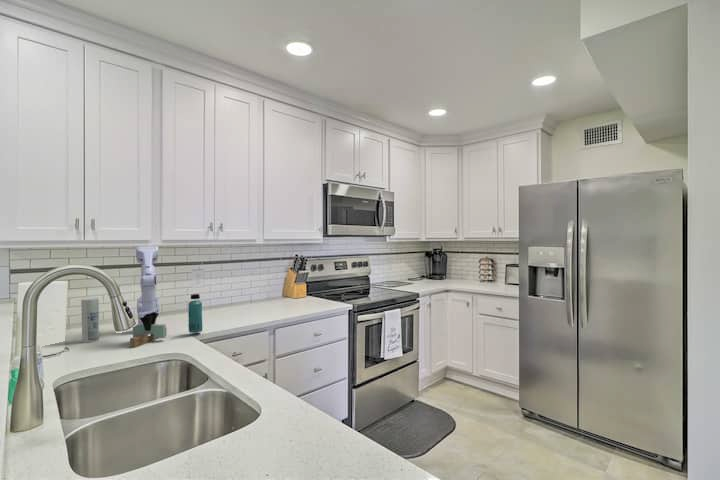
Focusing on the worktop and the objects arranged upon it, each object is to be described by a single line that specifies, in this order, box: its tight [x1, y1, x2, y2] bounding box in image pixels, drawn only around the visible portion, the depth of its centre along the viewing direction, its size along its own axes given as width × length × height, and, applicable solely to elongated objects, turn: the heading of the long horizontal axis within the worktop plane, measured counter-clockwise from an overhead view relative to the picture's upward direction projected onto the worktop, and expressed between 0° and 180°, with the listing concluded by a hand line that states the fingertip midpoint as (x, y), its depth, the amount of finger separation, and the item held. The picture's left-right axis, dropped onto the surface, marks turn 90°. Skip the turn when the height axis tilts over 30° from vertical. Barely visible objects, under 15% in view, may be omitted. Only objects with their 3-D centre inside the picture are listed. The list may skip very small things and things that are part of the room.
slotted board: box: [129, 332, 167, 349], centre depth 169 cm, size 20×2×4 cm, turn 171°
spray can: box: [80, 297, 100, 344], centre depth 170 cm, size 6×6×20 cm
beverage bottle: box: [187, 293, 203, 334], centre depth 180 cm, size 6×7×20 cm
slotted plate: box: [132, 323, 167, 339], centre depth 169 cm, size 14×2×6 cm, turn 92°
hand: (149, 329), depth 169 cm, fingers closed on slotted plate, 2 cm apart
